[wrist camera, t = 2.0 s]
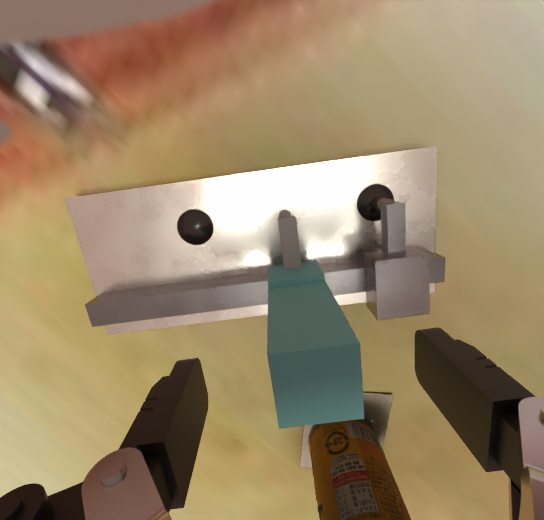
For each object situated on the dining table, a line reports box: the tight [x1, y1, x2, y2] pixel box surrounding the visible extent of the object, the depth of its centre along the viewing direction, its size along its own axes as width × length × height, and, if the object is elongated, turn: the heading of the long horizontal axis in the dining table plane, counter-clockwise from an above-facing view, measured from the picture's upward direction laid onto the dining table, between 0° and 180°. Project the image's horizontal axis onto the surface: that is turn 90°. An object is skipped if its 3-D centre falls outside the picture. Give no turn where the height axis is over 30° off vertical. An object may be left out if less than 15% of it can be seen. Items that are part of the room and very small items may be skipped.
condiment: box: [300, 392, 411, 520], centre depth 20 cm, size 7×8×12 cm
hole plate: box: [65, 146, 445, 335], centre depth 19 cm, size 24×10×6 cm, turn 98°
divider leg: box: [267, 210, 364, 429], centre depth 15 cm, size 3×7×11 cm, turn 8°
